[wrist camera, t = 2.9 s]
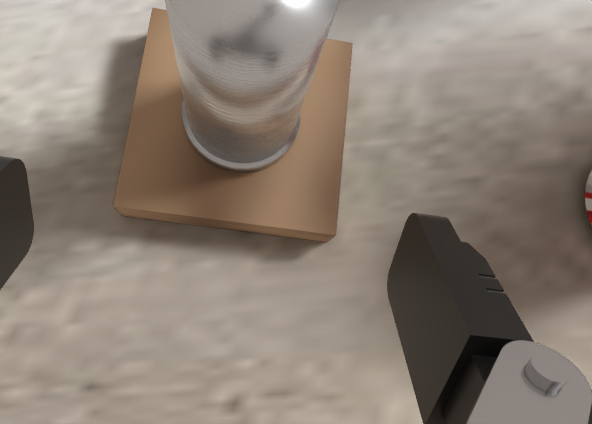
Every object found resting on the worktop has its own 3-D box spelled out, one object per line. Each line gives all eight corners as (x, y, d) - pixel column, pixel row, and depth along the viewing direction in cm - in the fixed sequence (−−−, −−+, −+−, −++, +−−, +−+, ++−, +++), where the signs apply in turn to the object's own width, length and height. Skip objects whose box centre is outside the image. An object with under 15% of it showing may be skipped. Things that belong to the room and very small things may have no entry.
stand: (343, 63, 27) (352, 43, 25) (327, 241, 24) (335, 235, 22) (158, 31, 25) (152, 7, 23) (122, 215, 23) (112, 206, 21)
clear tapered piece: (303, 76, 24) (356, -92, 14) (292, 180, 23) (341, 74, 13) (192, 57, 23) (169, -131, 14) (174, 163, 22) (134, 39, 12)
